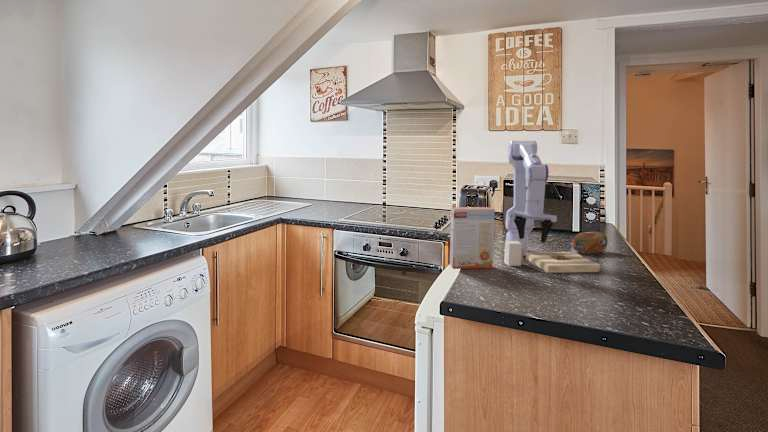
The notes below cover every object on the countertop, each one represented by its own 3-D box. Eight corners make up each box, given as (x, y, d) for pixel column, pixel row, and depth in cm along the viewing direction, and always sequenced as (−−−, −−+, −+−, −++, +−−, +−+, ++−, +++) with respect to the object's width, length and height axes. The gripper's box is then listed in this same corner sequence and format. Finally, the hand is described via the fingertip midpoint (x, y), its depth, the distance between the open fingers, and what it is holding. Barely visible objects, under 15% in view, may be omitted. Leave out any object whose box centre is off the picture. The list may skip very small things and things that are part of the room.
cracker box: (487, 264, 150) (490, 206, 147) (492, 269, 144) (495, 208, 141) (448, 264, 149) (450, 206, 146) (452, 269, 144) (454, 208, 140)
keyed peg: (504, 262, 153) (505, 241, 151) (519, 262, 153) (520, 240, 152) (508, 265, 148) (509, 243, 147) (524, 265, 149) (525, 243, 147)
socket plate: (525, 258, 158) (526, 252, 158) (571, 258, 160) (572, 251, 159) (547, 272, 140) (548, 265, 140) (599, 271, 142) (600, 264, 141)
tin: (575, 254, 166) (577, 233, 165) (570, 252, 169) (571, 232, 168) (607, 252, 170) (609, 231, 169) (601, 250, 173) (603, 230, 172)
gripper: (509, 199, 143) (507, 238, 145) (551, 203, 133) (548, 245, 135) (518, 198, 148) (516, 235, 150) (560, 201, 138) (557, 242, 141)
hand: (532, 240), depth 143 cm, fingers open, 7 cm apart
